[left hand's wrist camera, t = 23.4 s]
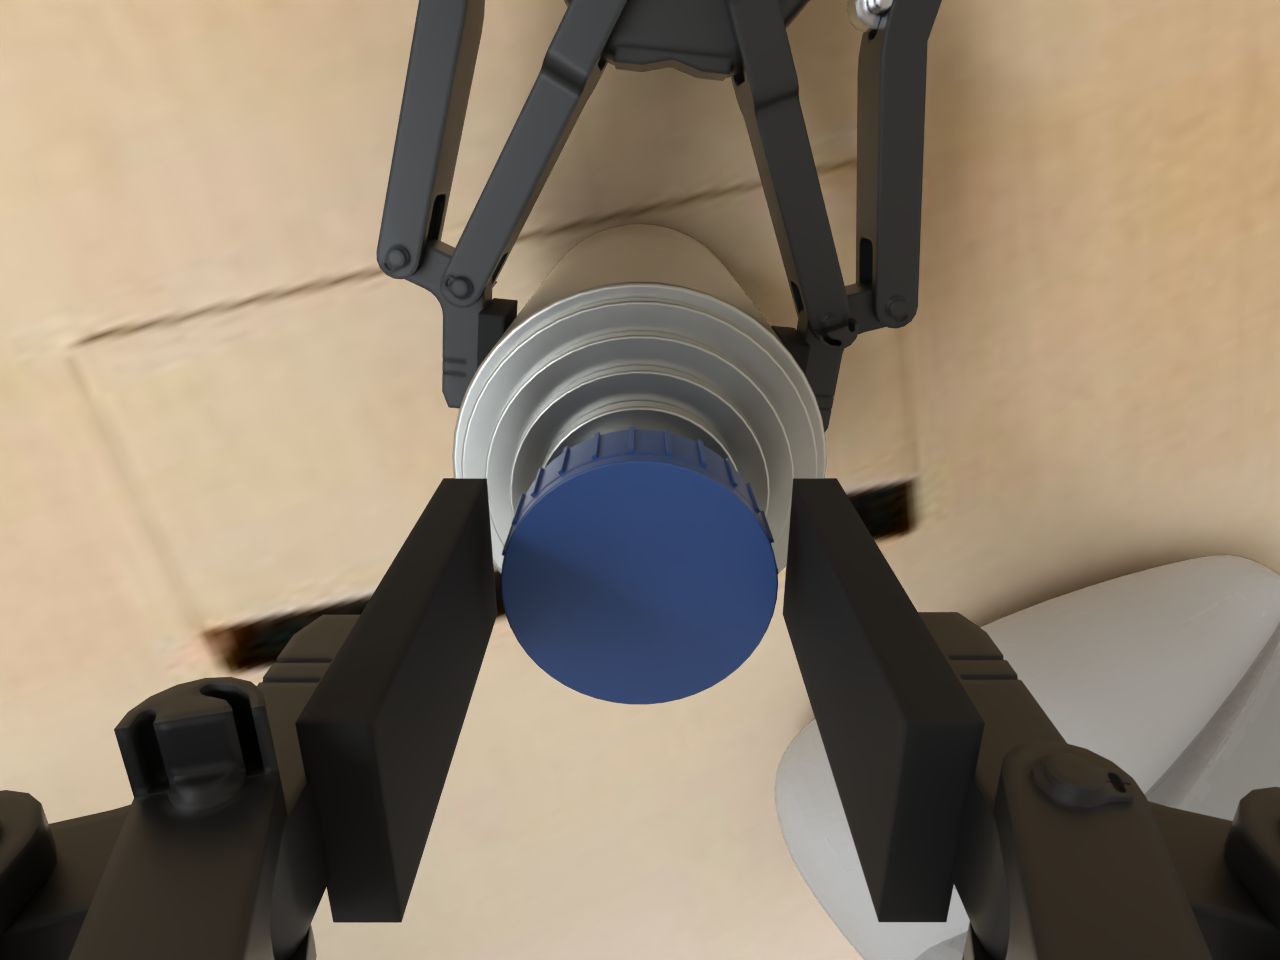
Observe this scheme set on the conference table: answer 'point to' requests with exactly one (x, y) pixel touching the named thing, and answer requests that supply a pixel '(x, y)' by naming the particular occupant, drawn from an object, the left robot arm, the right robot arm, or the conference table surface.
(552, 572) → the cap
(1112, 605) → the projector
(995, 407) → the conference table surface
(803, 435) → the bottle
